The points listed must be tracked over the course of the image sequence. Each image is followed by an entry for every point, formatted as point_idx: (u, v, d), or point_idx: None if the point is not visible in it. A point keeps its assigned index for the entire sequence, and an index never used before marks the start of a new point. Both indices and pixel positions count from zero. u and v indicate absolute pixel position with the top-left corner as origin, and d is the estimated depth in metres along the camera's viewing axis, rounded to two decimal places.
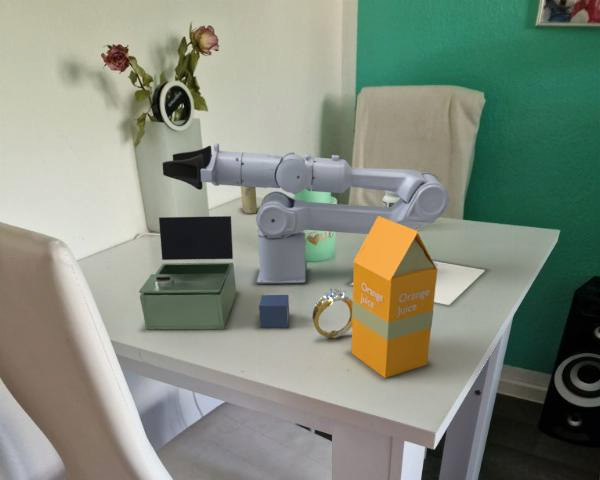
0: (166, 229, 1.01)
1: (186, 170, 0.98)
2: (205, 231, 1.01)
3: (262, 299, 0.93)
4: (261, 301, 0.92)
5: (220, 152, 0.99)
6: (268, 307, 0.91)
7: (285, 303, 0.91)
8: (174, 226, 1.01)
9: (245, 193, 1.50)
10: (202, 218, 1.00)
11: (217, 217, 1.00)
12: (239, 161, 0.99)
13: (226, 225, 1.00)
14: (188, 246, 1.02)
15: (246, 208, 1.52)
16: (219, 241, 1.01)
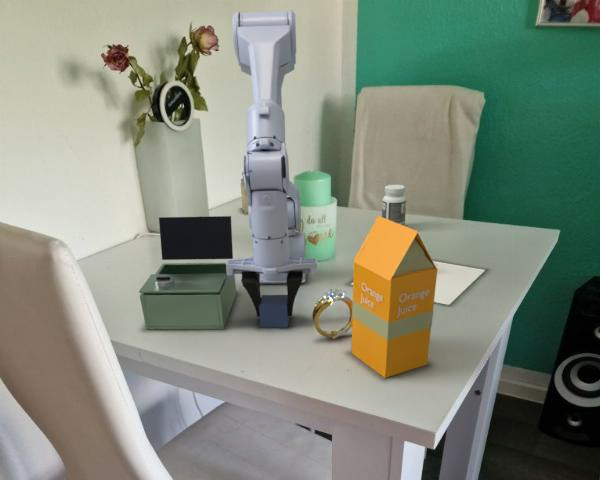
0: (166, 229, 1.01)
1: None
2: (205, 231, 1.01)
3: (262, 299, 0.93)
4: (261, 301, 0.92)
5: (273, 264, 0.86)
6: (268, 307, 0.91)
7: (285, 303, 0.91)
8: (174, 226, 1.01)
9: (245, 193, 1.50)
10: (202, 218, 1.00)
11: (217, 217, 1.00)
12: (283, 239, 0.85)
13: (226, 225, 1.00)
14: (188, 246, 1.02)
15: (246, 208, 1.52)
16: (219, 241, 1.01)
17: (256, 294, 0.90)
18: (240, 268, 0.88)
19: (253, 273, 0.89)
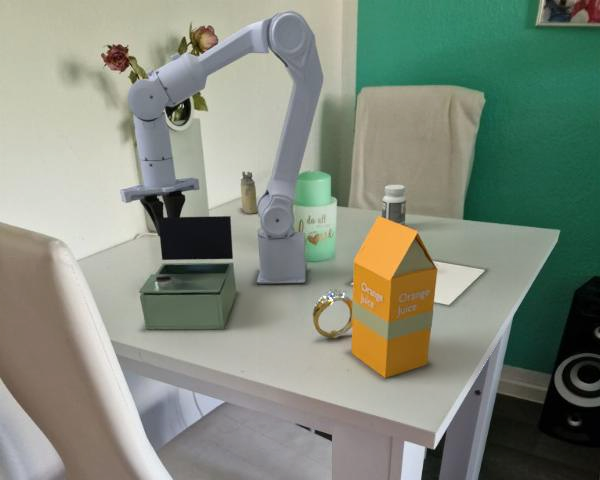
0: (165, 229, 1.01)
1: None
2: (205, 231, 1.00)
3: None
4: None
5: (169, 183, 0.98)
6: None
7: None
8: (173, 226, 1.00)
9: (245, 193, 1.50)
10: (201, 218, 1.00)
11: (216, 217, 1.00)
12: (172, 159, 0.98)
13: (226, 225, 1.00)
14: (188, 246, 1.01)
15: (246, 208, 1.52)
16: (219, 241, 1.01)
17: (162, 214, 1.01)
18: (138, 193, 0.97)
19: (155, 196, 1.00)
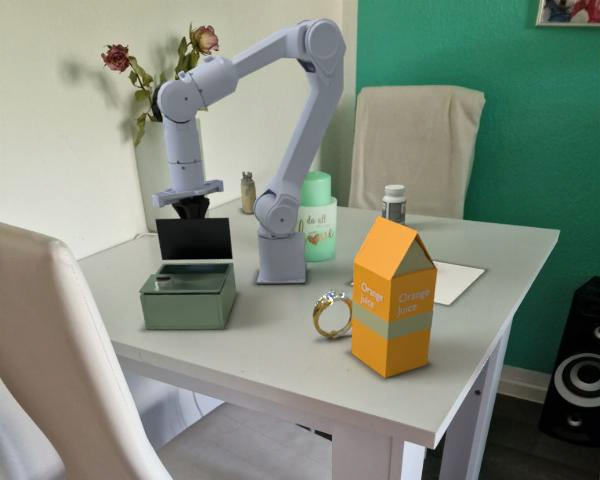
0: (163, 230, 0.99)
1: None
2: (203, 233, 0.99)
3: None
4: None
5: (200, 185, 0.97)
6: None
7: None
8: (171, 228, 0.99)
9: (245, 193, 1.50)
10: (199, 220, 0.98)
11: (215, 219, 0.98)
12: (201, 161, 0.96)
13: (224, 227, 0.99)
14: (187, 247, 1.01)
15: (246, 208, 1.52)
16: (218, 242, 1.00)
17: (197, 217, 1.00)
18: (171, 197, 0.95)
19: (189, 198, 0.98)
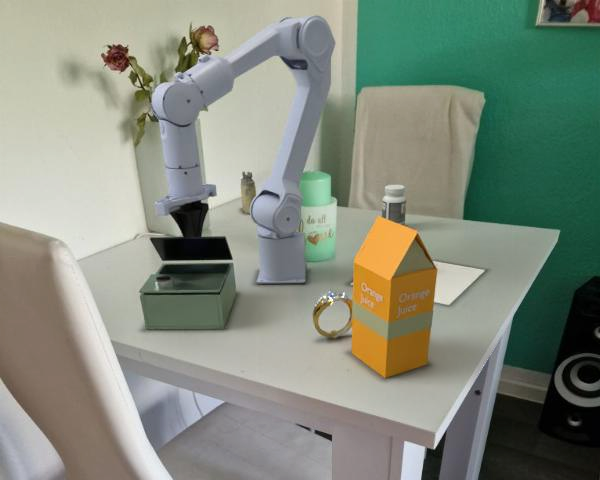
0: (159, 245, 0.97)
1: None
2: (201, 246, 0.97)
3: None
4: None
5: (201, 190, 0.94)
6: None
7: None
8: (168, 244, 0.97)
9: (245, 193, 1.50)
10: (196, 239, 0.95)
11: (211, 239, 0.95)
12: (199, 165, 0.93)
13: (222, 243, 0.96)
14: (186, 254, 1.00)
15: (246, 208, 1.52)
16: (217, 251, 0.99)
17: (197, 223, 0.96)
18: (176, 204, 0.91)
19: (189, 204, 0.95)
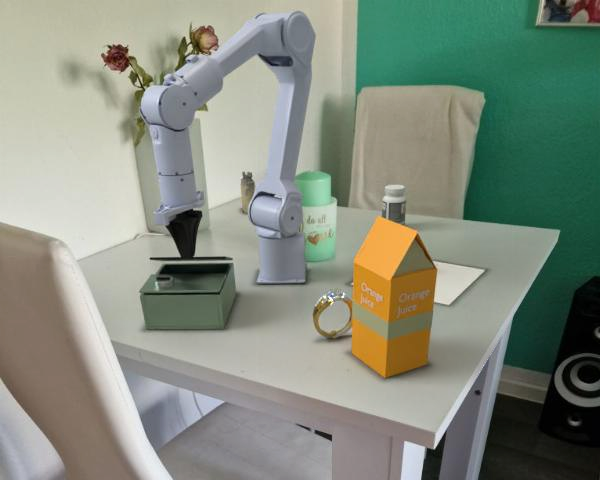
0: None
1: None
2: None
3: None
4: None
5: (196, 197, 0.90)
6: None
7: None
8: None
9: (245, 193, 1.50)
10: (196, 259, 0.95)
11: (211, 259, 0.95)
12: (192, 171, 0.89)
13: None
14: (186, 260, 1.00)
15: (246, 208, 1.52)
16: None
17: (193, 232, 0.92)
18: (175, 212, 0.86)
19: (183, 212, 0.90)
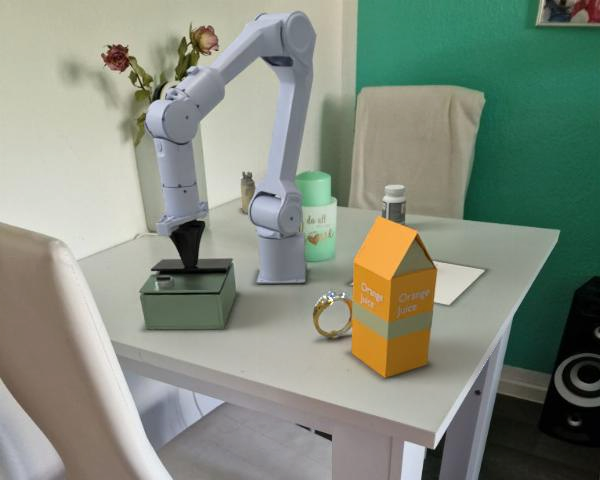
0: None
1: None
2: None
3: None
4: None
5: (199, 208, 0.92)
6: None
7: None
8: None
9: (245, 193, 1.50)
10: None
11: None
12: None
13: None
14: None
15: (246, 208, 1.52)
16: None
17: (195, 241, 0.94)
18: (177, 223, 0.88)
19: (186, 223, 0.92)
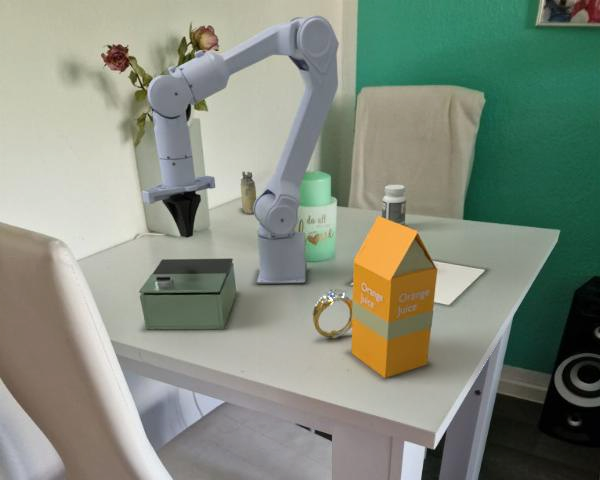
0: None
1: None
2: None
3: None
4: None
5: (191, 182, 0.96)
6: None
7: None
8: None
9: (245, 193, 1.50)
10: None
11: None
12: (192, 157, 0.96)
13: None
14: None
15: (246, 208, 1.52)
16: None
17: (188, 213, 0.99)
18: (162, 193, 0.94)
19: (180, 194, 0.97)
